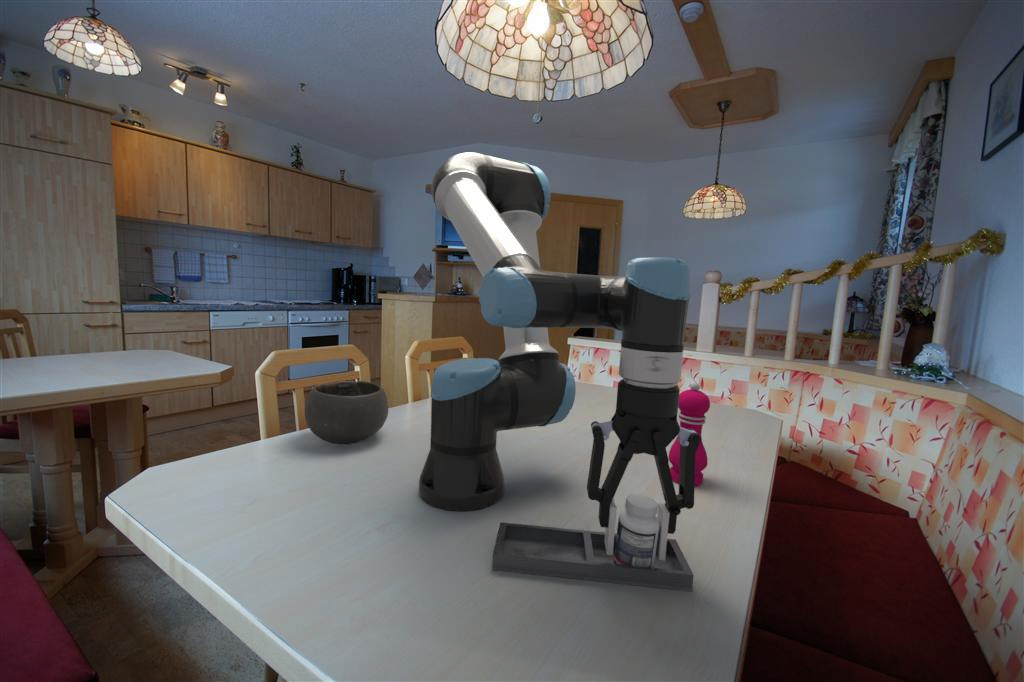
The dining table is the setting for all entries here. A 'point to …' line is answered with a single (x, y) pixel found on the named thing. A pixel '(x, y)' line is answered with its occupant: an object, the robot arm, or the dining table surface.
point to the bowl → (346, 411)
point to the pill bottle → (637, 532)
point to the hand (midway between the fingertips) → (633, 551)
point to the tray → (582, 557)
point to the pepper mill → (692, 417)
